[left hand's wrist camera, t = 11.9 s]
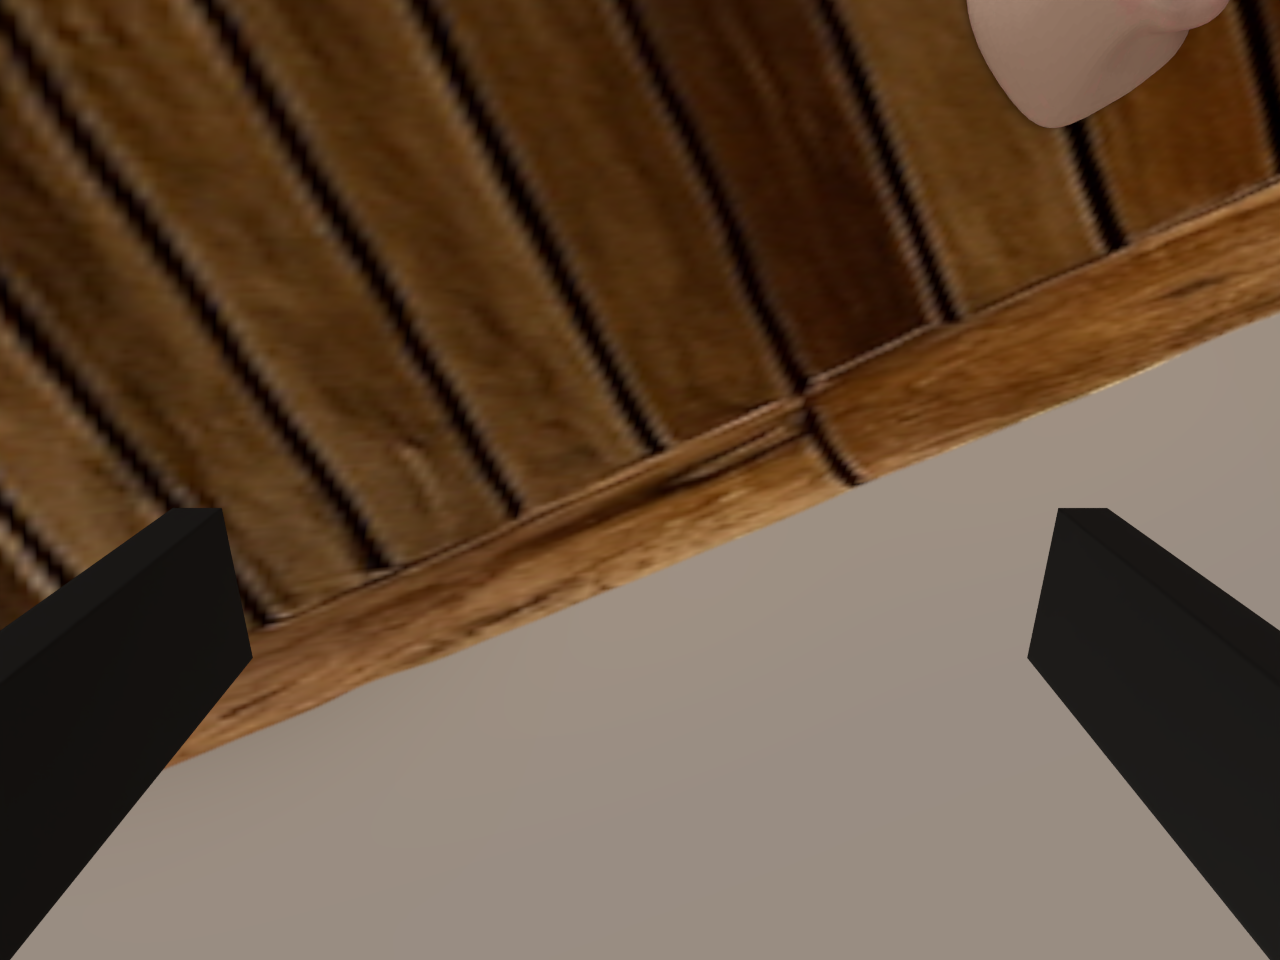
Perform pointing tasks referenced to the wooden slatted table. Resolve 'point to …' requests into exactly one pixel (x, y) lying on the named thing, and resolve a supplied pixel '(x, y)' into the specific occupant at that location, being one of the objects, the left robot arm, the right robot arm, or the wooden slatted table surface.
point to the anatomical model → (1080, 49)
